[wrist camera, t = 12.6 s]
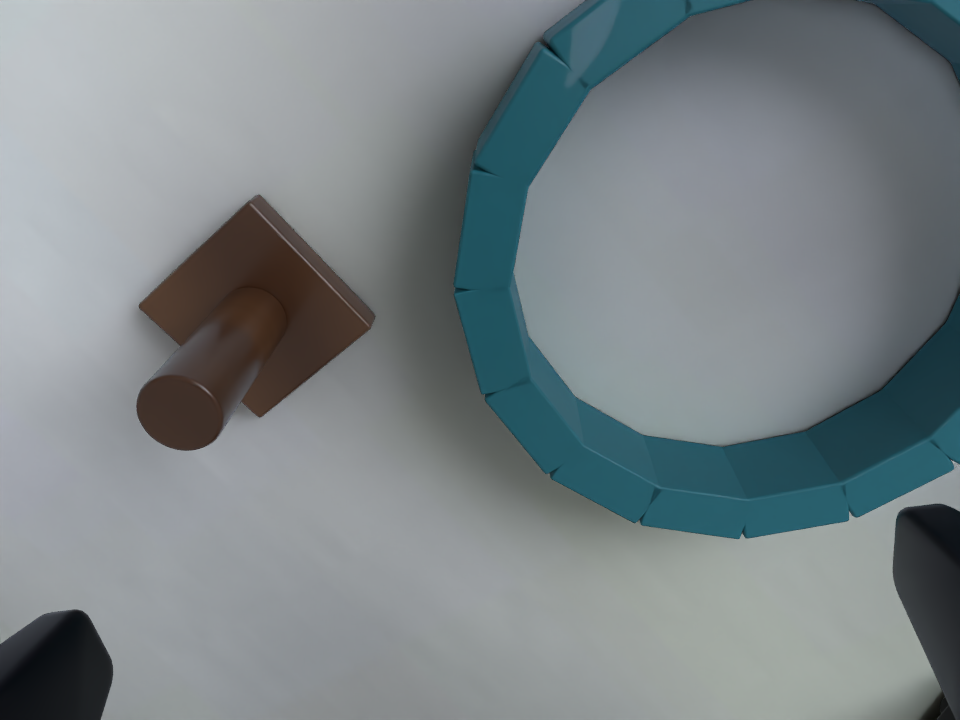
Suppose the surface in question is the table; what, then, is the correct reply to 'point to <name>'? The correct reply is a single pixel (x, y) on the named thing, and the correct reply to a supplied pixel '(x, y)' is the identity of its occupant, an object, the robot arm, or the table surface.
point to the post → (243, 327)
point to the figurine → (945, 711)
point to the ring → (610, 444)
